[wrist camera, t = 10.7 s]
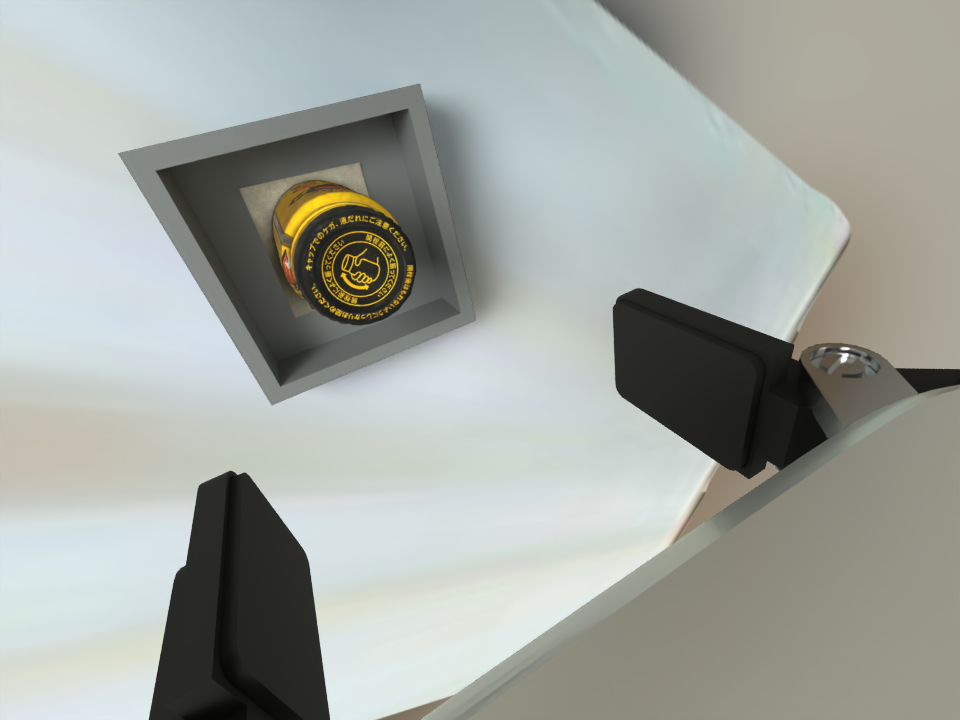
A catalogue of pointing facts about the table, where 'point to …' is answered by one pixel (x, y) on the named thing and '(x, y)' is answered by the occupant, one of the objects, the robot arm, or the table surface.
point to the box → (244, 260)
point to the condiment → (333, 245)
